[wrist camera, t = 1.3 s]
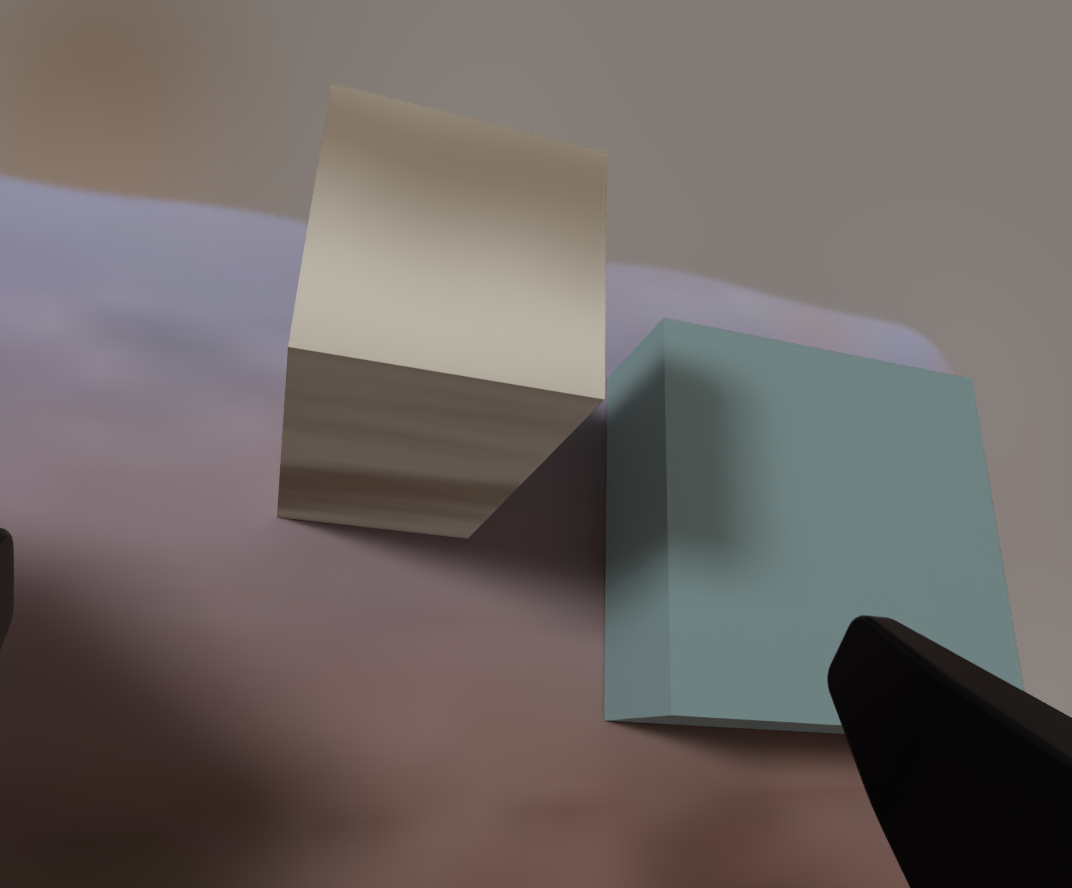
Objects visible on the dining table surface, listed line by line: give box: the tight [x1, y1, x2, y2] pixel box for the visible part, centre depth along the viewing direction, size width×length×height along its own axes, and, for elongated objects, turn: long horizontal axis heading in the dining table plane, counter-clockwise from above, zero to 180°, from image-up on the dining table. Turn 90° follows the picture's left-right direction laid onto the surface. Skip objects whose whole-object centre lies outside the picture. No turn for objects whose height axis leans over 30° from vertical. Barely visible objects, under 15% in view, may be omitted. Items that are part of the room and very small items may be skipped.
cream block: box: [277, 83, 607, 539], centre depth 18 cm, size 5×5×10 cm
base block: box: [604, 318, 1024, 734], centre depth 23 cm, size 10×10×4 cm
